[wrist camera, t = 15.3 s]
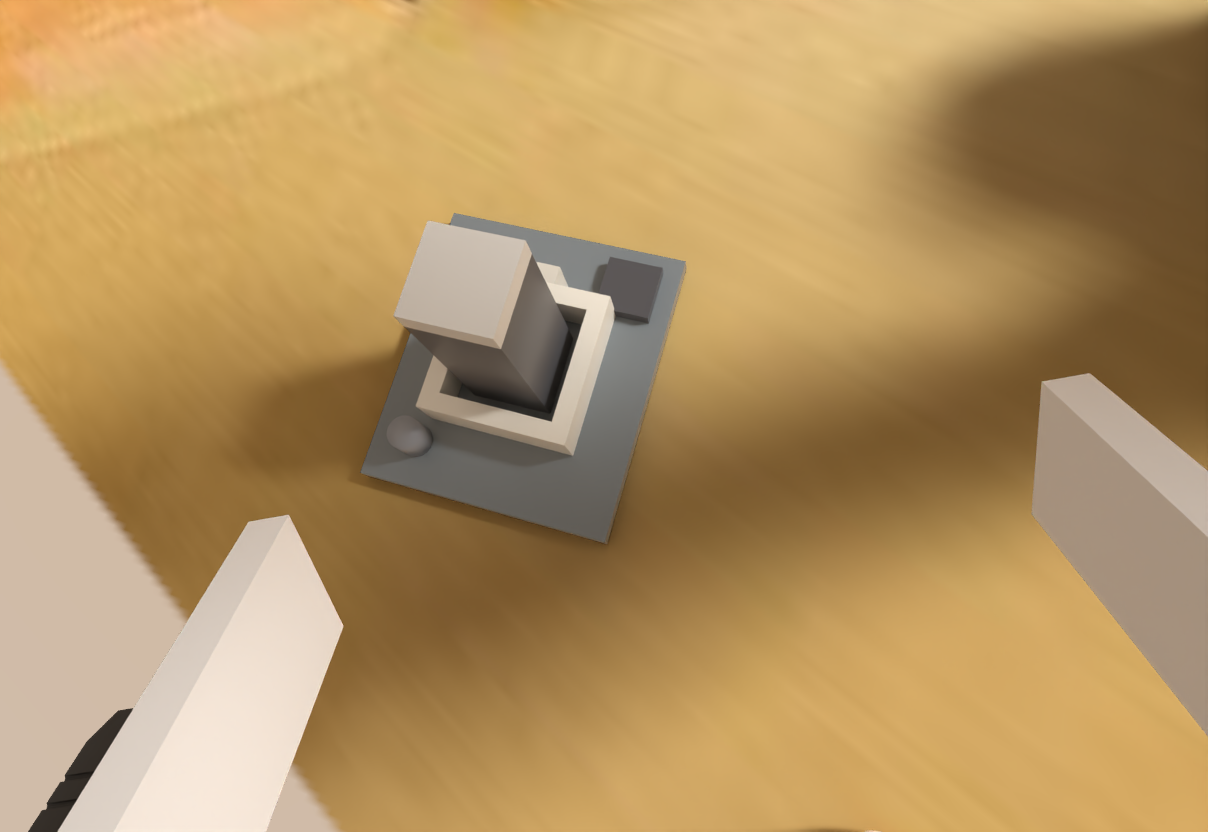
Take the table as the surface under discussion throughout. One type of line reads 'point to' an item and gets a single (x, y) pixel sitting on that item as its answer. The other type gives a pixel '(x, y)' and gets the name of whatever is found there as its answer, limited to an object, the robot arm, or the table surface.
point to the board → (580, 411)
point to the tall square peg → (486, 315)
